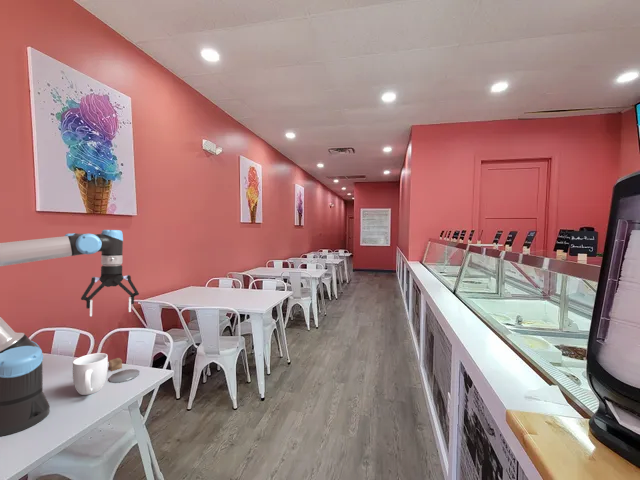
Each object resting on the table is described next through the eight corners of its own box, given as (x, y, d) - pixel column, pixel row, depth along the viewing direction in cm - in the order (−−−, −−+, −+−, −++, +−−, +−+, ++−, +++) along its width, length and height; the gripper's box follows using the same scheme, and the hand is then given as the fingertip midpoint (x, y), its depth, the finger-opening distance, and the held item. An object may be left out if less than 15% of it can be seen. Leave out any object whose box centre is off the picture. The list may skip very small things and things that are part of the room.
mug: (106, 397, 109) (106, 364, 109) (68, 407, 103) (68, 371, 103) (108, 381, 121) (108, 350, 121) (75, 388, 115) (75, 356, 115)
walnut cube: (111, 371, 130) (111, 362, 130) (108, 368, 132) (108, 360, 132) (121, 368, 133) (121, 359, 133) (118, 365, 136) (118, 357, 136)
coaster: (109, 385, 118) (109, 384, 118) (108, 375, 127) (108, 373, 127) (140, 377, 124) (140, 376, 124) (138, 368, 133) (138, 367, 133)
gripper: (73, 267, 113) (72, 320, 113) (146, 264, 128) (145, 311, 129) (74, 265, 119) (73, 315, 119) (144, 263, 134) (143, 307, 134)
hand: (110, 313), depth 124 cm, fingers open, 13 cm apart
